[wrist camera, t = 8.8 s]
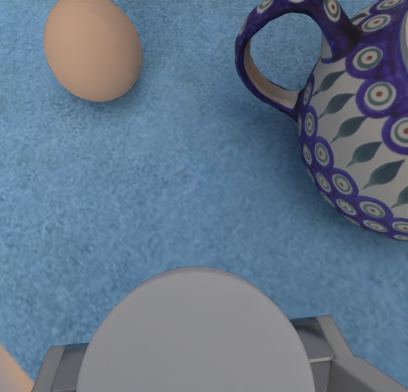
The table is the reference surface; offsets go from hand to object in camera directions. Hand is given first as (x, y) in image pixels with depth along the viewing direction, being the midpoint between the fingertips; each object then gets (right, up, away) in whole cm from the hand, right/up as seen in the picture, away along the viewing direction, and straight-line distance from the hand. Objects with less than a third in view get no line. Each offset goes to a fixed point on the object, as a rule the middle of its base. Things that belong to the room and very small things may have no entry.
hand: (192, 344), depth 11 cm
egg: (-8, +14, +18) cm, 24 cm away
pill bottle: (0, -2, +5) cm, 6 cm away
